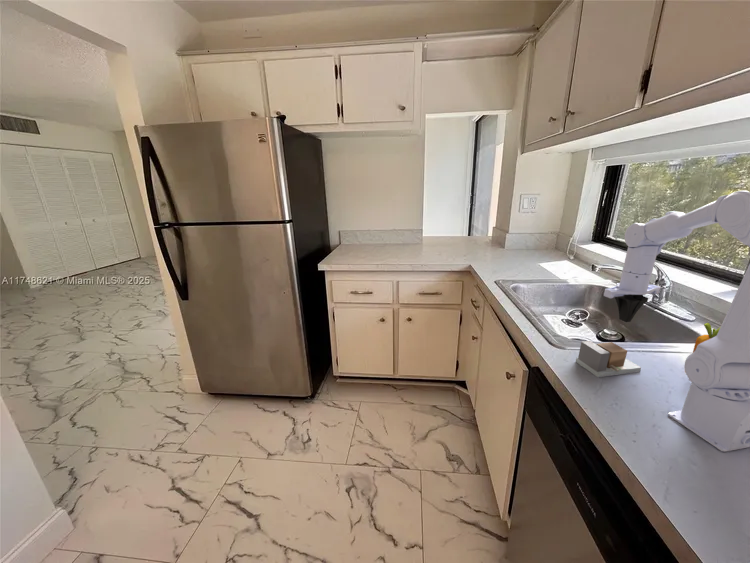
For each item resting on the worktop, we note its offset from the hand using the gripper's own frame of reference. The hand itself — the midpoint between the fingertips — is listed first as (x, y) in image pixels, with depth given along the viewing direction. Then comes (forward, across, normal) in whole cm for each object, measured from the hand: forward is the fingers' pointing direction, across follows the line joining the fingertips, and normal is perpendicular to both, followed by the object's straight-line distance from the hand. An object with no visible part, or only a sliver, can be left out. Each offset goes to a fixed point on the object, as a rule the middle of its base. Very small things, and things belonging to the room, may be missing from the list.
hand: (624, 320), depth 82 cm
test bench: (+10, +8, +5) cm, 14 cm away
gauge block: (+9, +9, +6) cm, 14 cm away
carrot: (+10, -8, +14) cm, 19 cm away
